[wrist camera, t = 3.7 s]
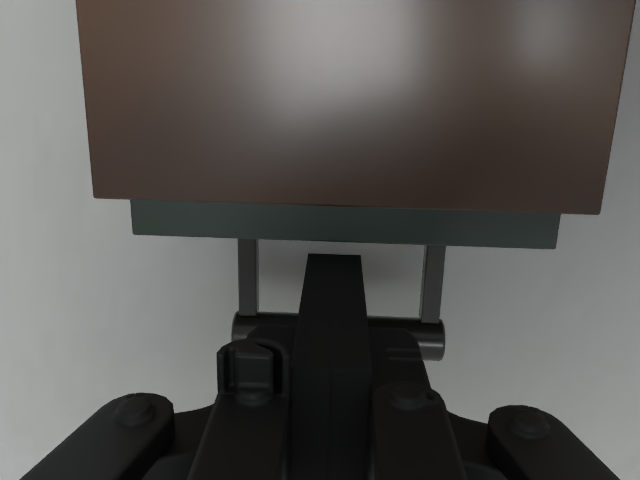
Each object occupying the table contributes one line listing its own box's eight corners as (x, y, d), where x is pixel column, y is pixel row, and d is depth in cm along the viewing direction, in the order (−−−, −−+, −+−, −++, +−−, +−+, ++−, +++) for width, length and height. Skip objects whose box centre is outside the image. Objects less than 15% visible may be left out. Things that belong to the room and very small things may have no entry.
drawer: (475, 303, 24) (532, 410, 17) (203, 293, 25) (143, 393, 17) (532, -219, 19) (653, -398, 12) (185, -223, 19) (85, -399, 12)
